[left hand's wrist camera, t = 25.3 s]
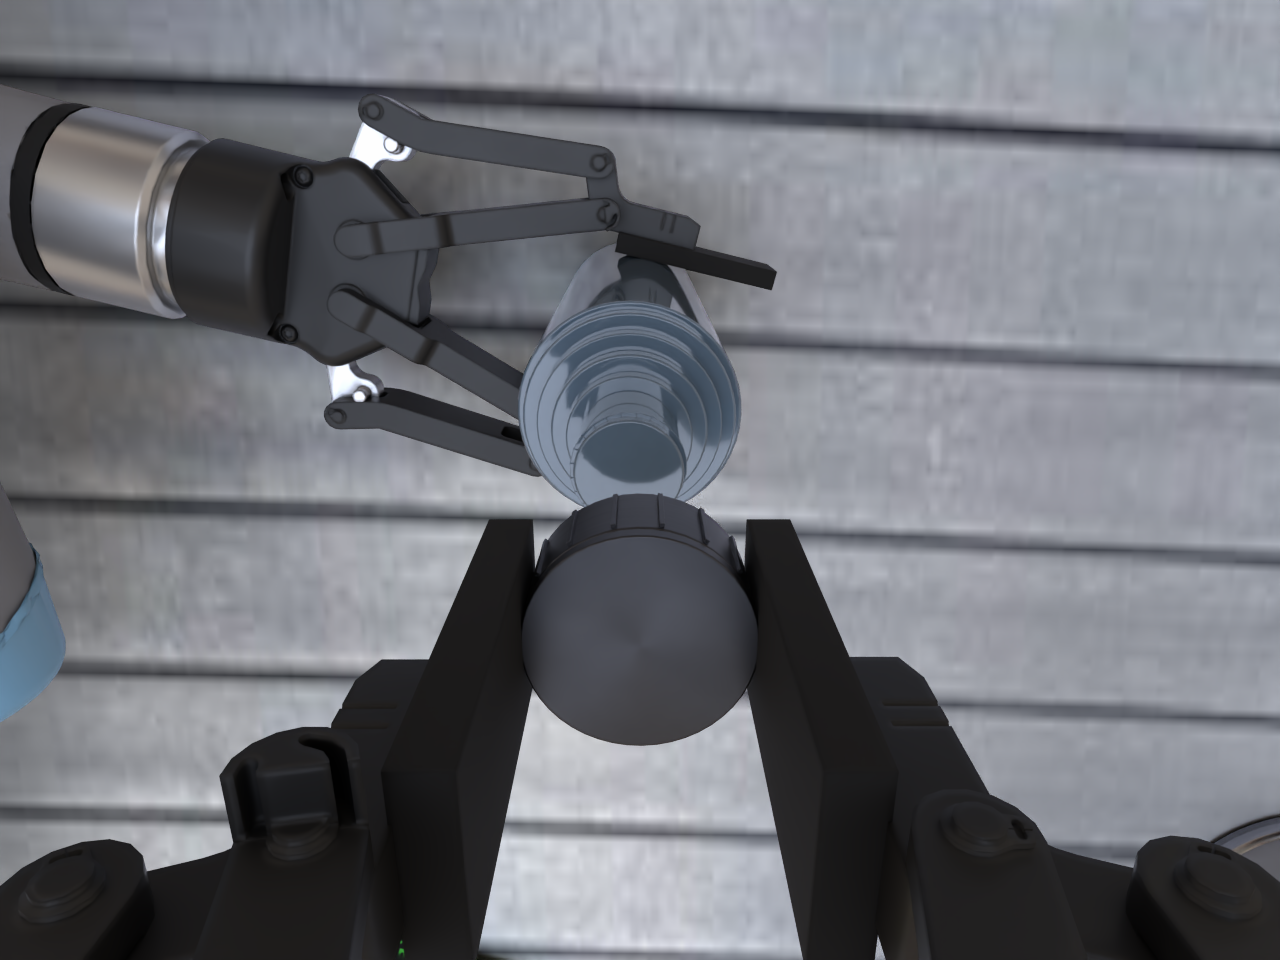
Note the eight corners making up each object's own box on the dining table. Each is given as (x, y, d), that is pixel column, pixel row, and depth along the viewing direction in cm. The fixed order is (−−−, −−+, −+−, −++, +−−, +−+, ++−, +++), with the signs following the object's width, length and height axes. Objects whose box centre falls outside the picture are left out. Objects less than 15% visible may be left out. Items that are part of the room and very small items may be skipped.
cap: (486, 594, 15) (466, 649, 13) (636, 446, 14) (636, 484, 12) (642, 721, 16) (642, 787, 14) (793, 589, 15) (813, 644, 13)
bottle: (565, 240, 41) (481, 335, 18) (697, 240, 41) (775, 336, 18) (568, 370, 43) (497, 597, 21) (694, 371, 43) (759, 596, 21)
